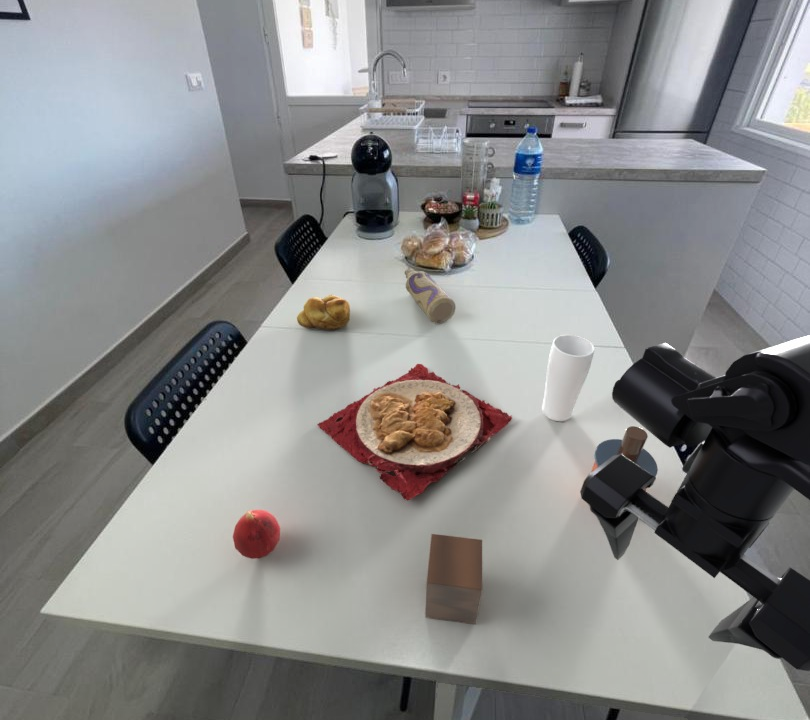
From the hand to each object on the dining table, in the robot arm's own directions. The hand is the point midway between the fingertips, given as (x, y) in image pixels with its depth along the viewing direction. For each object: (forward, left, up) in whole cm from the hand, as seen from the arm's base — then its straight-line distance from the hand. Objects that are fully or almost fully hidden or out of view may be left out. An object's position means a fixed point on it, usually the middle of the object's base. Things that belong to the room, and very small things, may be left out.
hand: (662, 593), depth 42 cm
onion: (+36, +28, -13) cm, 47 cm away
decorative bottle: (+78, -34, -13) cm, 86 cm away
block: (+16, +12, -13) cm, 24 cm away
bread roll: (+84, -7, -13) cm, 85 cm away
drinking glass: (+30, -26, -13) cm, 42 cm away
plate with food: (+43, -3, -13) cm, 45 cm away
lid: (+13, -17, -5) cm, 22 cm away
